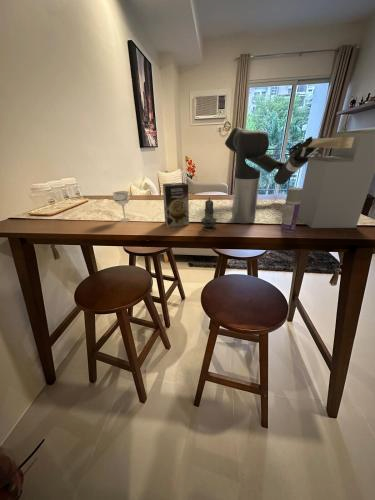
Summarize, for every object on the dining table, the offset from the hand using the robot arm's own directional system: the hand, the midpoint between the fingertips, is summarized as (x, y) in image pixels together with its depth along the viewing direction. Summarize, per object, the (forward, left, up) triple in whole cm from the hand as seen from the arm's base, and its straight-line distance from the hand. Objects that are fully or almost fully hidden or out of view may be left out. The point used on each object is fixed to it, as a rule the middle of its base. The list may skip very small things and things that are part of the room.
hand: (317, 138), depth 81 cm
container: (-13, -19, -30) cm, 38 cm away
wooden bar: (0, -7, -3) cm, 7 cm away
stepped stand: (+5, -10, -30) cm, 32 cm away
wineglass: (-79, -5, -30) cm, 84 cm away
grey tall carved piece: (-42, -17, -30) cm, 54 cm away
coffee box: (-55, -11, -30) cm, 63 cm away
